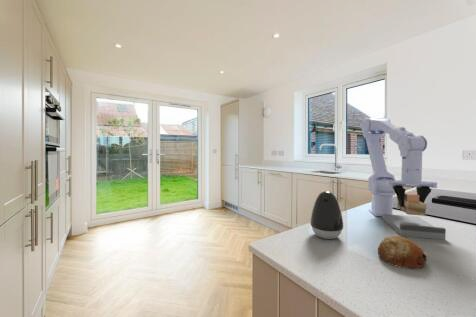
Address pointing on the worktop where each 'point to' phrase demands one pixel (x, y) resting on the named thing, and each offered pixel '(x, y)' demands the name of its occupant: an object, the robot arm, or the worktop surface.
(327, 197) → the dark grey egg shape
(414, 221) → the dock
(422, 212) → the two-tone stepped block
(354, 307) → the worktop surface
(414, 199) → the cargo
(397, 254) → the brown rounded lump
